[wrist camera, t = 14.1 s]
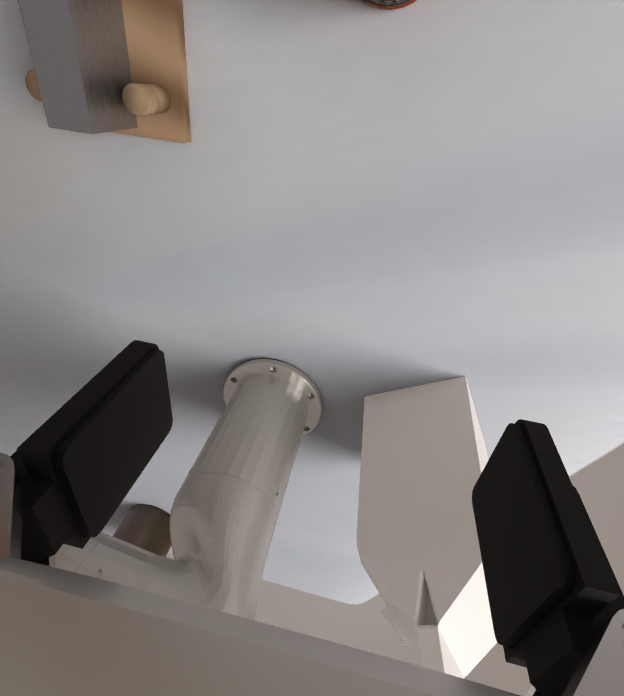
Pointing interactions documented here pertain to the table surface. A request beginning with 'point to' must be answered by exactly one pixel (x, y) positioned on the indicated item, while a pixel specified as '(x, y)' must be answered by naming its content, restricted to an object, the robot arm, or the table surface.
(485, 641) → the milk
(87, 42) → the steel bar
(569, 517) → the robot arm
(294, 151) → the table surface
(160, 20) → the rack
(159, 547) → the pillar candle
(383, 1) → the canned food
